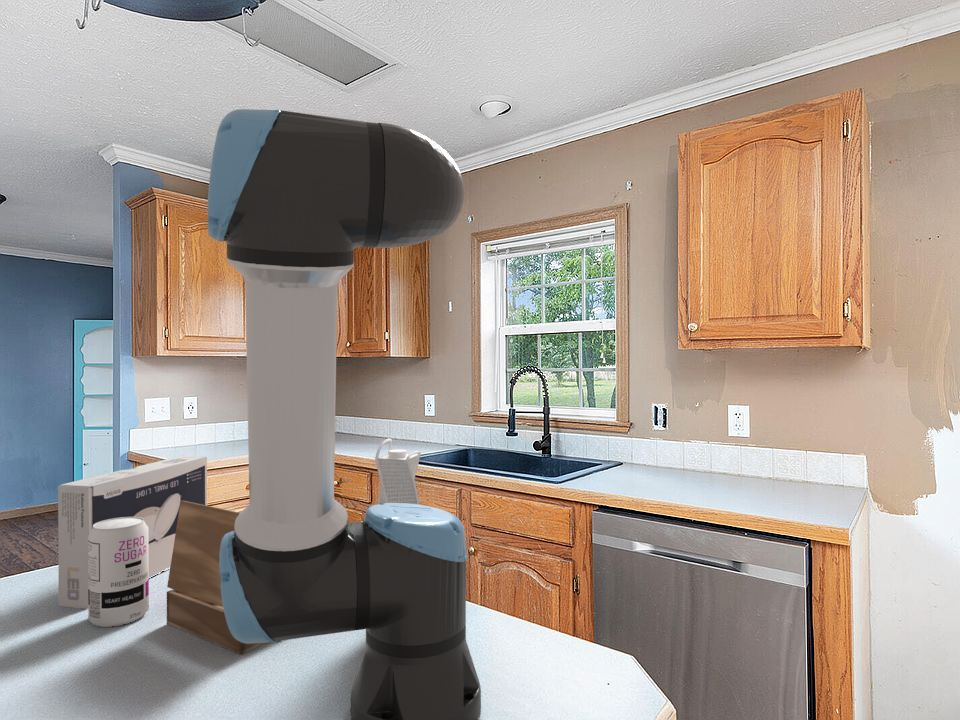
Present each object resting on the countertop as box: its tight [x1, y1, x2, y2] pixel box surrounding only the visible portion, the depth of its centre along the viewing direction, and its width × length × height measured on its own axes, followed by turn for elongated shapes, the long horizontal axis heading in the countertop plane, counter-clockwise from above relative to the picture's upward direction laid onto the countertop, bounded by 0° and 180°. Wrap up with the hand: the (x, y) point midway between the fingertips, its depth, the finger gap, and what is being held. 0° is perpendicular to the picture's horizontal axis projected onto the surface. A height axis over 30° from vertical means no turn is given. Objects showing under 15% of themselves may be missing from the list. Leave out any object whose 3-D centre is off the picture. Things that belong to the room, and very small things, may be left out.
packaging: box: [57, 455, 208, 609], centre depth 115 cm, size 30×6×20 cm, turn 168°
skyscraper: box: [374, 437, 422, 505], centre depth 95 cm, size 8×8×28 cm
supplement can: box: [87, 517, 150, 628], centre depth 96 cm, size 8×8×15 cm
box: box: [166, 589, 268, 655], centre depth 95 cm, size 14×18×5 cm
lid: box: [166, 501, 241, 607], centre depth 90 cm, size 1×17×13 cm, turn 57°
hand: (293, 401), depth 103 cm, fingers open, 9 cm apart
